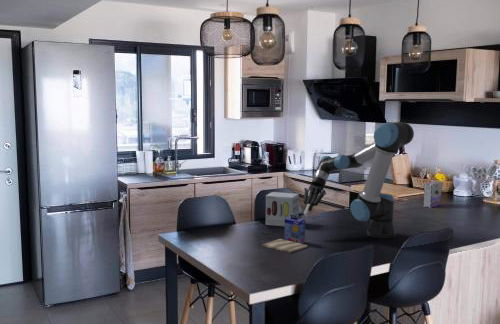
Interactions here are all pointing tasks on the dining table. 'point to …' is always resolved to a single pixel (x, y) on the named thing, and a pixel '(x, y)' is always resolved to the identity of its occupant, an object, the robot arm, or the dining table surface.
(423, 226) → the dining table surface
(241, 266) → the dining table surface
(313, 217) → the dining table surface
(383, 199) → the robot arm
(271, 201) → the supplement box
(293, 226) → the ink cartridge box
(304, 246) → the board
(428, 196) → the candy box
